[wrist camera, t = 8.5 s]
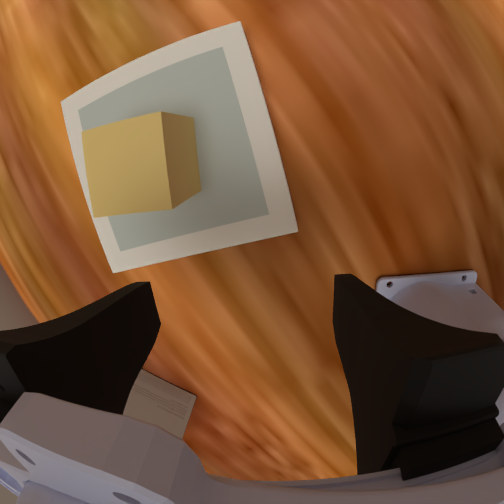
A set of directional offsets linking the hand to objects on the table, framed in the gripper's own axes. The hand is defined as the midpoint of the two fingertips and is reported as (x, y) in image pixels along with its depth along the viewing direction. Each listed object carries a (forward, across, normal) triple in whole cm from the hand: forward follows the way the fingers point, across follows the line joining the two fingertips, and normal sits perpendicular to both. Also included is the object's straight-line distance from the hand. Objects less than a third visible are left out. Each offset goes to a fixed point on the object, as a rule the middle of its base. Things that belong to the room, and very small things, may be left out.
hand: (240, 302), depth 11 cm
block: (+8, +6, -5) cm, 11 cm away
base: (+10, +6, -6) cm, 13 cm away
